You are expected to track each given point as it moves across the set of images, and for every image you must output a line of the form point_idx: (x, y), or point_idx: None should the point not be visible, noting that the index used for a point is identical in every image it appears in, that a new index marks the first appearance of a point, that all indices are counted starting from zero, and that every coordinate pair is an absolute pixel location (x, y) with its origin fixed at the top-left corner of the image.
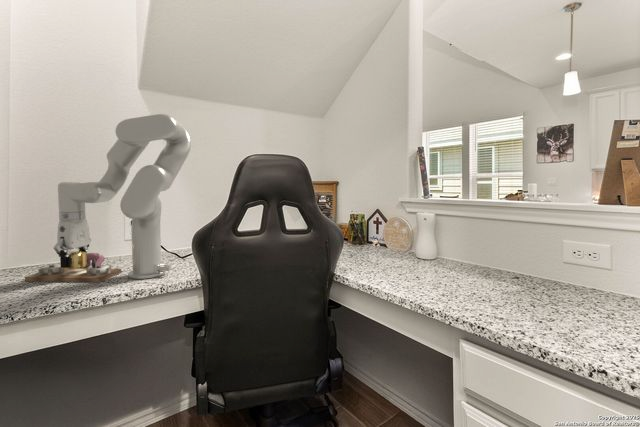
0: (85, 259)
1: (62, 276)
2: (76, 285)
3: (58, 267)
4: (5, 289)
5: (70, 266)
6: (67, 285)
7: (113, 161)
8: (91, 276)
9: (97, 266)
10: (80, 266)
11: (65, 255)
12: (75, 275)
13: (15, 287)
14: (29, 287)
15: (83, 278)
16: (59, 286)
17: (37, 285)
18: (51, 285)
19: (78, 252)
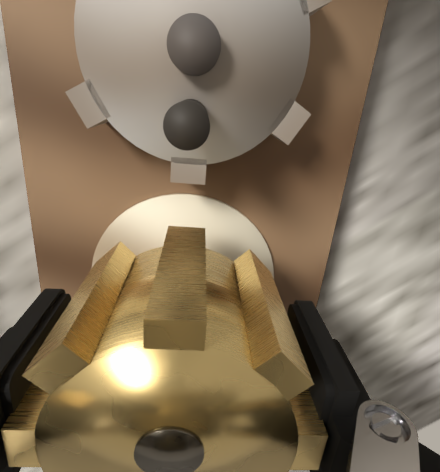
0: (111, 283)
1: (293, 302)
2: (436, 111)
3: None
4: None
5: (305, 302)
6: (417, 181)
7: None
8: (329, 56)
9: (220, 47)
10: (211, 254)
11: (407, 435)
12: (275, 228)
13: None
14: (402, 365)
15: (356, 114)
16: (428, 221)
17: (370, 353)
18: (389, 283)
19: (116, 425)
